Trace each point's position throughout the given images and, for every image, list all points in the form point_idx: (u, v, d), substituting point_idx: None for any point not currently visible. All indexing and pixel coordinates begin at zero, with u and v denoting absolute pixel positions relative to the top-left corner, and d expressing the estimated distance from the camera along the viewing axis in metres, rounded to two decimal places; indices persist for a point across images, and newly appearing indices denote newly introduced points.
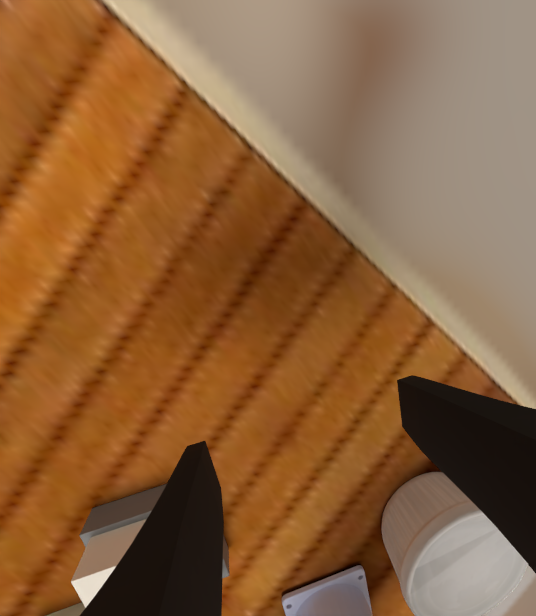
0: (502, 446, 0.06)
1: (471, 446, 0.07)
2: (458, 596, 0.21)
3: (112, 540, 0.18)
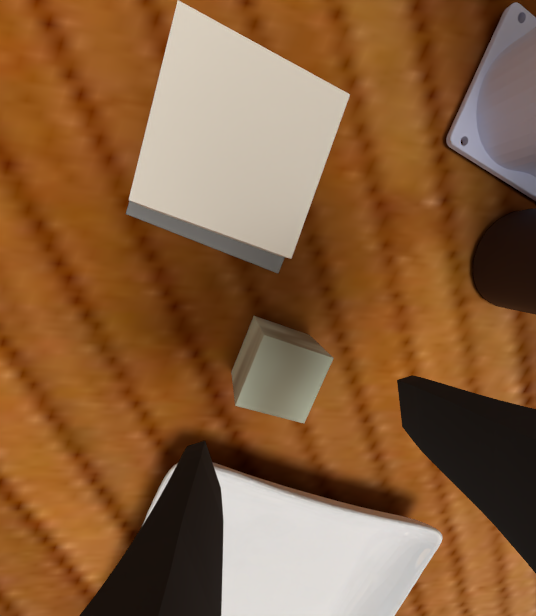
0: (502, 446, 0.06)
1: (471, 446, 0.07)
2: None
3: None
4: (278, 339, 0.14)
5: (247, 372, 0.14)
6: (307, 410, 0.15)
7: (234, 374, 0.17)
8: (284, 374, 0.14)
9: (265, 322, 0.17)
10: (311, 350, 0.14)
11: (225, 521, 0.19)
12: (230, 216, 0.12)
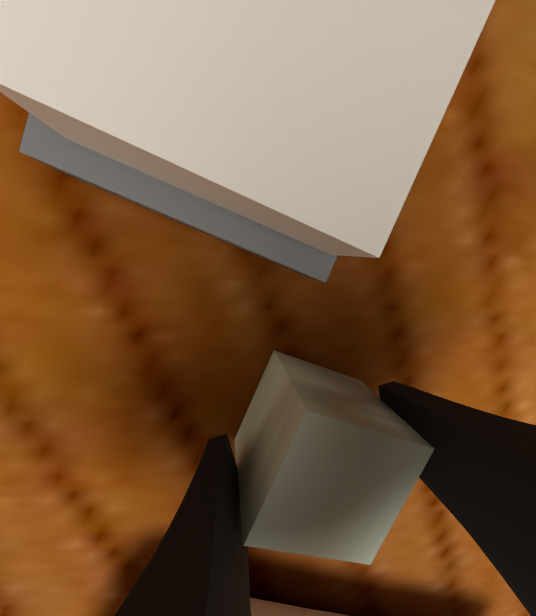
0: (474, 456, 0.06)
1: (447, 454, 0.07)
2: None
3: None
4: (334, 417, 0.07)
5: (269, 480, 0.07)
6: (378, 542, 0.08)
7: (240, 453, 0.10)
8: (341, 483, 0.07)
9: (295, 365, 0.10)
10: (394, 435, 0.07)
11: None
12: (249, 145, 0.05)
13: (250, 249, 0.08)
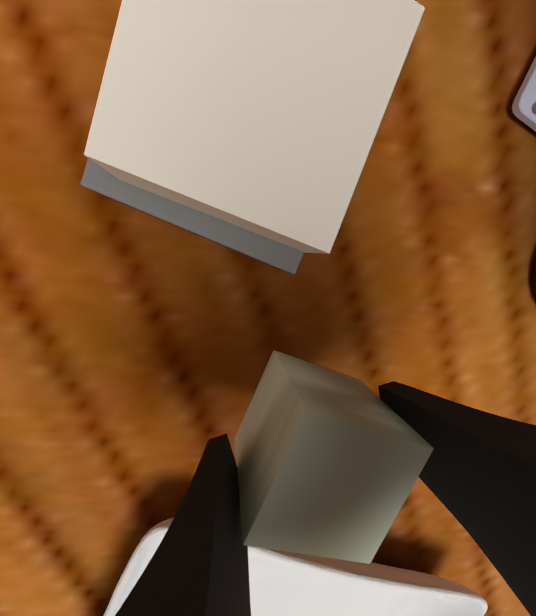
0: (474, 456, 0.06)
1: (447, 455, 0.07)
2: None
3: None
4: (333, 417, 0.07)
5: (269, 479, 0.07)
6: (377, 541, 0.08)
7: (239, 453, 0.10)
8: (341, 483, 0.07)
9: (295, 365, 0.10)
10: (394, 435, 0.07)
11: None
12: (242, 187, 0.08)
13: (238, 250, 0.10)
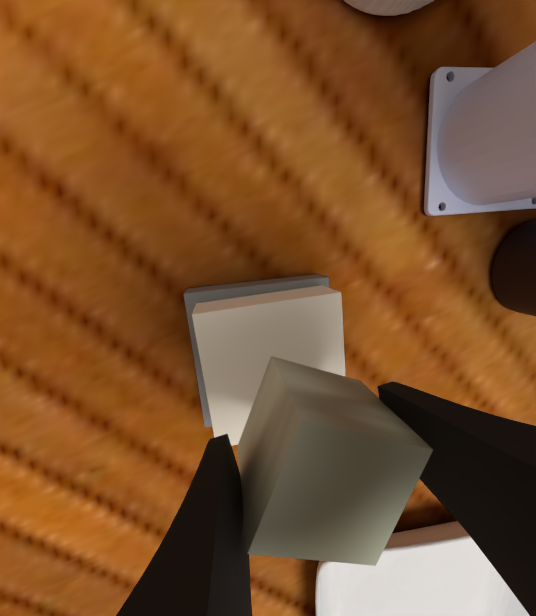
0: (473, 456, 0.06)
1: (446, 455, 0.07)
2: None
3: None
4: (330, 424, 0.07)
5: (269, 489, 0.07)
6: (382, 543, 0.08)
7: (242, 460, 0.10)
8: (341, 488, 0.07)
9: (293, 371, 0.10)
10: (392, 438, 0.07)
11: (371, 573, 0.23)
12: None
13: None
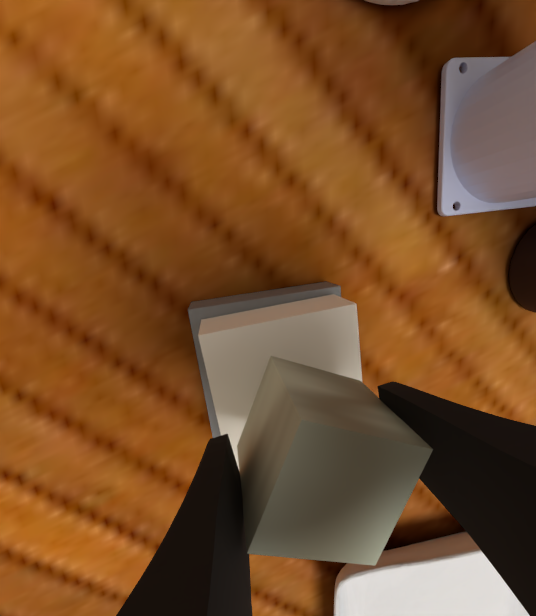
0: (473, 457, 0.06)
1: (446, 455, 0.07)
2: None
3: None
4: (329, 424, 0.07)
5: (268, 488, 0.07)
6: (381, 543, 0.08)
7: (242, 460, 0.10)
8: (340, 488, 0.07)
9: (292, 371, 0.10)
10: (392, 438, 0.07)
11: (389, 586, 0.22)
12: None
13: None
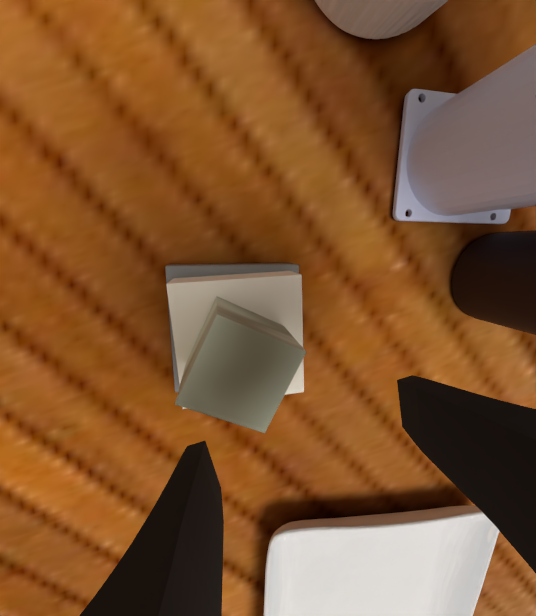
0: (502, 446, 0.06)
1: (471, 446, 0.07)
2: None
3: None
4: (236, 322, 0.11)
5: (193, 362, 0.11)
6: (269, 416, 0.12)
7: (186, 366, 0.13)
8: (241, 368, 0.11)
9: (228, 304, 0.13)
10: (278, 340, 0.11)
11: (322, 554, 0.24)
12: None
13: None
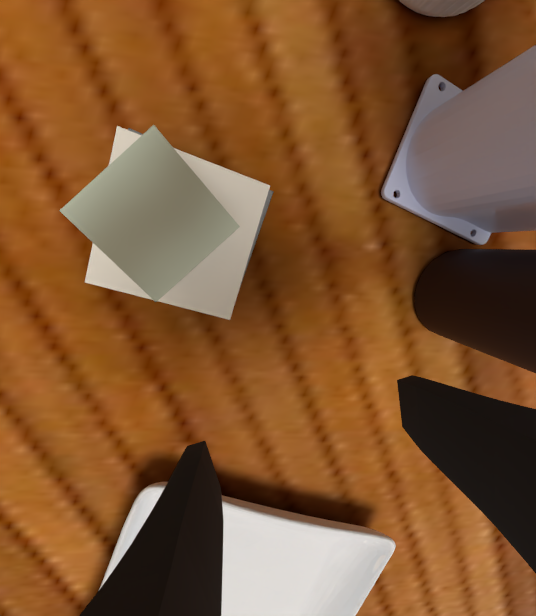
0: (502, 446, 0.06)
1: (471, 446, 0.07)
2: None
3: None
4: (173, 149, 0.09)
5: None
6: (169, 285, 0.10)
7: None
8: (157, 207, 0.09)
9: None
10: (214, 197, 0.09)
11: None
12: (174, 289, 0.14)
13: None
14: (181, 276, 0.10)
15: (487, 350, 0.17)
